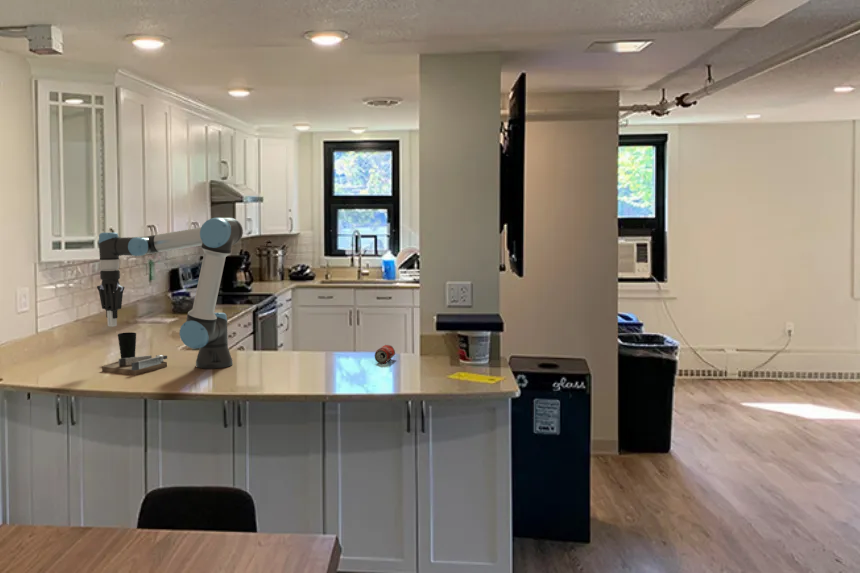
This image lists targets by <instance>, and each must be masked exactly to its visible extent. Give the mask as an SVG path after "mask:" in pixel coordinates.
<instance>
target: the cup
mask: <svg viewBox="0 0 860 573" xmlns="http://www.w3.org/2000/svg"><path fill="white" fill-rule="evenodd" d="M117 338H118V345H119V346H118V347H119V353H120V354H119V355H120V359H121V358H130V357H136V346H137V332H129V331H128V332H119V333H118V334H117Z"/></svg>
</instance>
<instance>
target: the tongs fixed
mask: <svg viewBox="0 0 860 573" xmlns="http://www.w3.org/2000/svg"><path fill="white" fill-rule="evenodd" d="M166 359H167V360H168V355H164V354H158V355H155V356H154V357H152V358H150V359H146V360H142V361H138V362H133V363H132V370H138V369H142V368H146V367H150V366H154V365H158V364H161V363H163V362H165V361H164V360H166Z"/></svg>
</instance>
